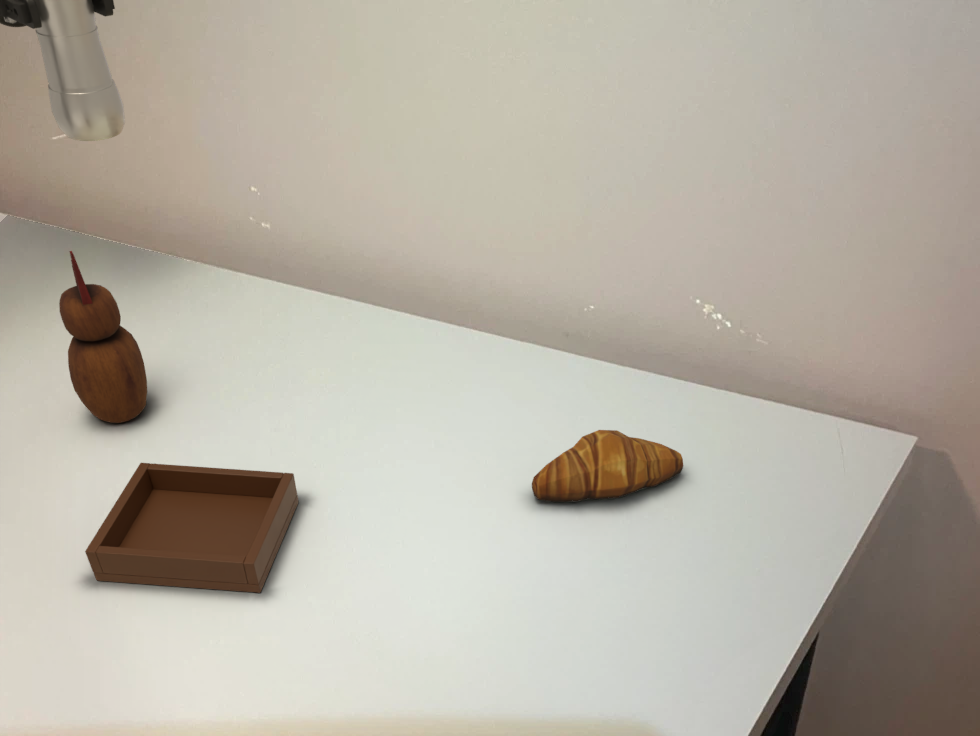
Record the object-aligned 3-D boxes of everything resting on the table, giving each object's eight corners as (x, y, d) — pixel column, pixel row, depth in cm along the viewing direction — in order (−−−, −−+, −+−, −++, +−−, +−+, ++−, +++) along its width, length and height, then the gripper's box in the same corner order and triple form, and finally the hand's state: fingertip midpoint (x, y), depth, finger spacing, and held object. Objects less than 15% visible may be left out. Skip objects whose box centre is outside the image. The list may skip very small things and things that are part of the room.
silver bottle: (142, 129, 101) (82, -132, 86) (111, 153, 96) (41, -118, 81) (81, 123, 101) (10, -137, 86) (47, 146, 97) (-34, -124, 82)
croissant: (663, 451, 90) (670, 400, 86) (696, 494, 86) (704, 442, 82) (518, 478, 87) (519, 426, 83) (545, 524, 82) (546, 471, 79)
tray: (96, 581, 77) (84, 551, 74) (149, 491, 84) (140, 462, 82) (260, 593, 76) (253, 563, 74) (299, 501, 84) (293, 472, 82)
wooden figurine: (146, 431, 90) (96, 261, 79) (80, 432, 90) (19, 262, 79) (160, 392, 95) (114, 226, 84) (97, 393, 95) (42, 226, 83)
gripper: (-106, -69, 91) (-25, -33, 83) (47, -87, 98) (135, -55, 90) (-72, 29, 97) (7, 72, 89) (71, 6, 104) (156, 43, 96)
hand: (71, 8), depth 89 cm, fingers closed on silver bottle, 6 cm apart
